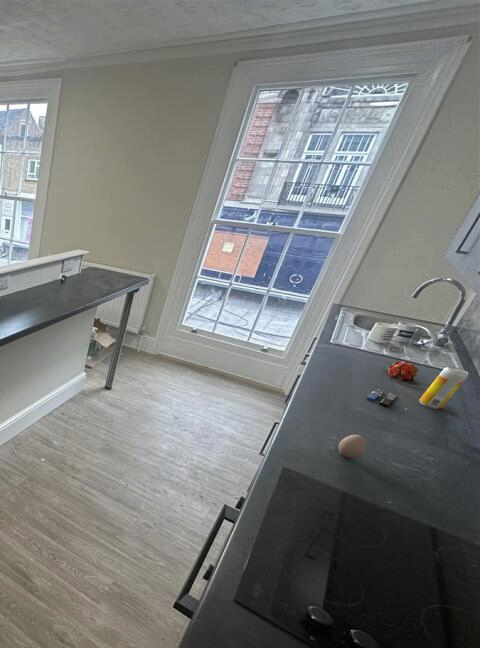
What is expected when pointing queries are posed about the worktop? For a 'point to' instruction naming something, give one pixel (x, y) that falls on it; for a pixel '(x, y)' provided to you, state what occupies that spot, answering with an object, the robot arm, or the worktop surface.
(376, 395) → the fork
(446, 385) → the beer can
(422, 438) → the worktop surface
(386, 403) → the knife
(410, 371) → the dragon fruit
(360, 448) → the egg
